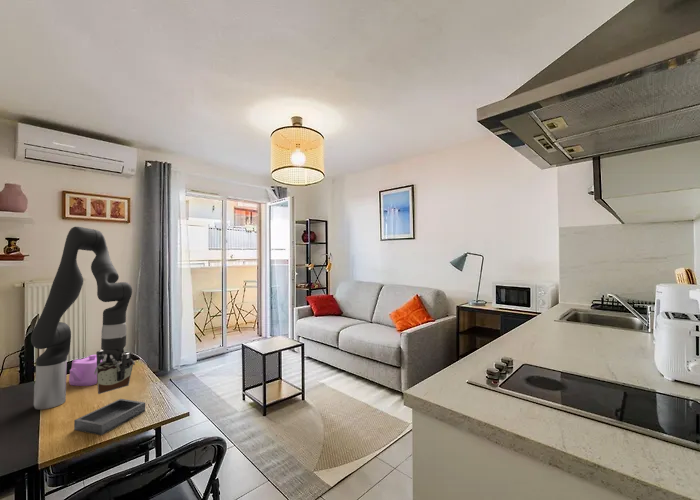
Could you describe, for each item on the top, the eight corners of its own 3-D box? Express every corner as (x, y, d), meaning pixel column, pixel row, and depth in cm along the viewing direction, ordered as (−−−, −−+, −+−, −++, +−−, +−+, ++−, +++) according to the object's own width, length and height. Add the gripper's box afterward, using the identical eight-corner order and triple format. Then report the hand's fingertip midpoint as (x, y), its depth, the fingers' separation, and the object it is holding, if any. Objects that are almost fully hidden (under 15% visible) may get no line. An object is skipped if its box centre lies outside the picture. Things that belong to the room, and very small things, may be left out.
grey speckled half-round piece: (127, 377, 124) (129, 354, 123) (133, 384, 120) (135, 360, 120) (88, 388, 114) (90, 362, 113) (93, 395, 111) (95, 369, 110)
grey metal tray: (74, 430, 109) (74, 420, 109) (120, 407, 126) (120, 398, 126) (101, 435, 106) (101, 425, 106) (145, 411, 123) (145, 402, 123)
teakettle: (111, 371, 164) (111, 347, 164) (115, 380, 152) (116, 355, 152) (67, 379, 152) (68, 354, 153) (68, 391, 140) (69, 363, 140)
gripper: (89, 336, 115) (87, 381, 114) (119, 339, 111) (118, 385, 111) (109, 331, 122) (108, 373, 122) (138, 334, 119) (137, 377, 118)
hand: (113, 379), depth 116 cm, fingers closed on grey speckled half-round piece, 6 cm apart
